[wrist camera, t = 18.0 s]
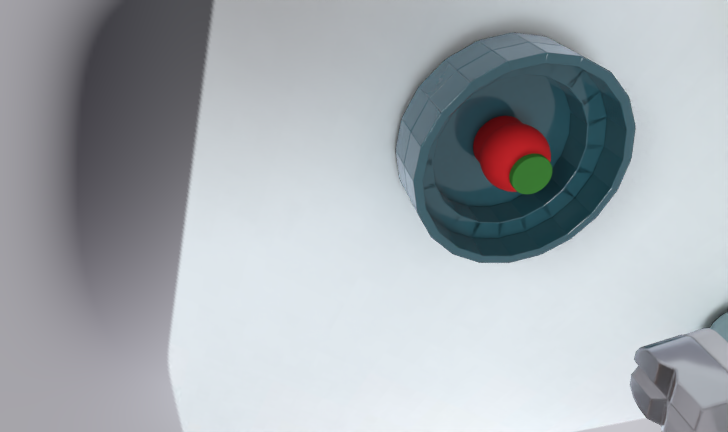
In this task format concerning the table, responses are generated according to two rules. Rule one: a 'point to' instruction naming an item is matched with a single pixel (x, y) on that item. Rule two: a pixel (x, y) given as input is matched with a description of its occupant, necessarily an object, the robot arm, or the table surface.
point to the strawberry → (513, 155)
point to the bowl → (532, 107)
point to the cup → (721, 326)
